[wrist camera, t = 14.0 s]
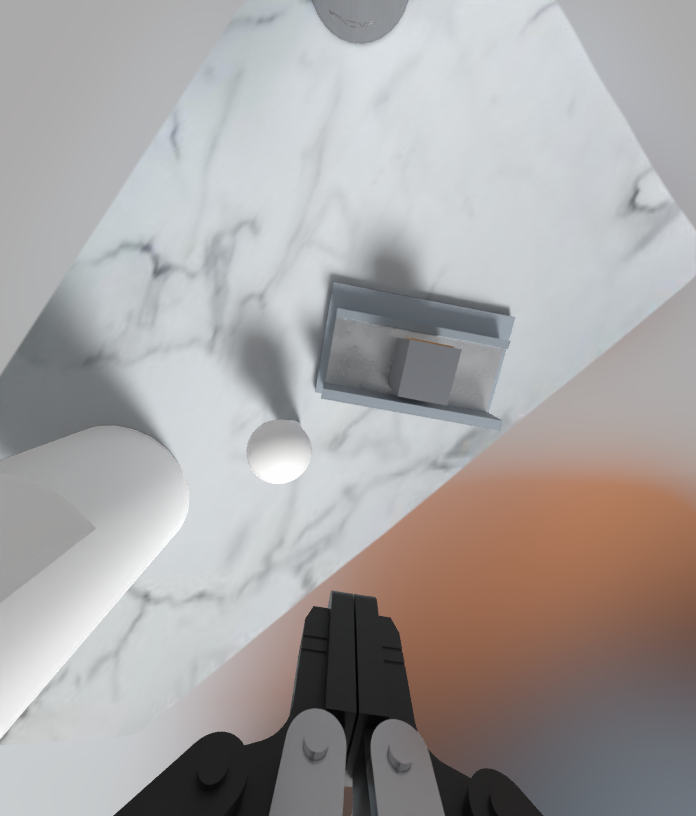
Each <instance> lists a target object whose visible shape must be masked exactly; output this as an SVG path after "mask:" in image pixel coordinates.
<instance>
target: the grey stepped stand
mask: <svg viewBox="0 0 696 816" xmlns="http://www.w3.org/2000/svg"><path fill="white" fill-rule="evenodd" d="M336 317H341V318H346V319H351V320H357V321H362V322H367V323H373V324H378V325H383V326H388V327H394V328H399V329H404V330H410V331H415V332H420V333H425V334H431V335H436V336H441V337H447V338H452V339H457V340H462V341H468V342H473V343H478V344H484V345H489V346H494V347H499V348H504V349H503V352H502V356H501V360H500V363H499V367H498V370H497V374H496V378H495V381H494V385H493V388H492V392H491V395H490V399H489V403H488V406H487V410H486V411H480V410H474V409H469V408H463V407H458V406H452V405H447V406H446V405H441V404H436V403H430V402H425V401H419V400H414V399H409V398H403V397H398V396H397V395H391V394H386V393H380V392H375V391H369V390H364V389H358V388H353V387H347V386H341V385H336V384H330V383H325V381H326V375H327V369H328V363H329V357H330V352H331V346H332V340H333V334H334V328H335V322H336ZM514 320H515V317H512V316H507V315H501V314H496V313H491V312H486V311H481V310H476V309H471V308H465V307H460V306H455V305H450V304H445V303H440V302H434V301H429V300H424V299H419V298H414V297H409V296H403V295H398V294H393V293H388V292H383V291H378V290H372V289H367V288H362V287H357V286H352V285H347V284H341V283H336V282H333V286H332V292H331V299H330V305H329V311H328V317H327V323H326V329H325V335H324V341H323V347H322V354H321V360H320V366H319V372H318V378H317V384H316V390H315V392H318V393H322V395H321V399H327V400H332V401H338V402H343V403H349V404H355V405H360V406H366V407H372V408H377V409H383V410H388V411H394V412H400V413H405V414H411V415H416V416H422V417H428V418H433V419H439V420H444V421H450V422H456V423H461V424H467V425H473V426H478V427H484V428H489V429H495V430H500V428H501V424H502V420H500V419H498V418H497V417H495V416H493V415H491V414H489V413H488V412H489V409H490V405H491V401H492V398H493V394H494V391H495V387H496V384H497V380H498V377H499V373H500V369H501V366H502V362H503V359H504V355H505V352H506V349H508V347H509V344H510V341H509V337H510V334H511V330H512V327H513V323H514Z"/></svg>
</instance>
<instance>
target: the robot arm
mask: <svg viewBox="0 0 696 816" xmlns="http://www.w3.org/2000/svg"><path fill="white" fill-rule="evenodd" d="M407 2H408V0H313V3H314V6H315V8H316V11H317V13H318V15H319V17H320V19H321V20H322V22H323V23H324V25H325V26H326V27H327V28H328V29H329V30H330V31H331V32H332V33H333V34H335V35H336V36H338V37H339V38H341V39H343V40H345V41H348V42H351V43H360V44H363V43H369V42H373V41H375V40H378V39H380V38H382V37H383V36H385V35H386V34H387V33H389V32H390V31H391V30H392V29H393V28H394V27H395V25H396V24H397V23H398V22H399V20H400V18H401V16H402V15H403V13H404V11H405V8H406V5H407ZM344 786H348V787H353V812H352V816H543V815H542V814H541V813H540V811H539V810H538V809H537V808H536V807H535V806H534V805H533V804H532V802H531V801H530V800H529V799H528V798H527V797H526V796H525V795H524V793H523V792H522V791H521V790H520V789H519V788H518V787H517V785H515V783H514V782H513V781H511V780H510V779H509V778H508V777H506V776H505V775H503V774H502V773H500V772H498V771H496V770H493V769H486V768H485V769H480V770H479V771H477V772H476V773H475V774H474V775H473V776H472V778H469V777H468V776H466V775H464V774H462V773H460V772H458V771H457V770H455V769H453V768H451V767H449V766H447V765H446V764H444V763H443V762H441V761H439V760H438V759H437V758H436V757H435V756H434V755H433V754H432V753H431V752H430V751H429V750H428V748H427V746H426V744H425V742H424V740H423V739H422V737H421V736H420V735H419V733H418V731H417V728H416V724H415V721H414V715H413V709H412V703H411V697H410V692H409V686H408V680H407V675H406V669H405V666H404V659H403V653H402V646H401V640H400V635H399V632H398V630H397V628H396V626H395V625H394V623H393V621H392V620H391V618H390V617H383V616H378V607H377V599H376V597H371V596H364V595H358V594H354V596H353V594H350V593H344V592H337V591H331V594H330V600H329V604H328V608H322V607H316V606H313V608H312V609H311V611H310V612H309V614H308V616H307V617H306V619H305V624H304V629H303V634H302V640H301V645H300V651H299V656H298V662H297V669H296V676H295V682H294V689H293V696H292V702H291V709H290V716H289V718H288V720H287V722H286V723H285V724H284V726H283V727H282V728H281V729H280V730H279V731H278V732H277V733H276V734H274V735H273V736H271V737H269V738H267V739H265V740H262V741H259V742H255V743H251V744H248V745H243V743H242V741H241V740H240V739H239V738H238V737H236V736H235V735H233V734H231V733H227V732H215V733H211V734H208V735H206V736H204V737H203V738H201V739H200V740H198V741H197V742H196V743H195V744H193V745H192V746H191V747H190V748H189V749H188V750H187V751H186V752H184V753H183V754H182V755H181V756H180V757H179V758H178V759H177V760H176V761H174V762H173V763H172V764H171V765H170V766H169V767H168V768H166V770H164V771H163V772H162V773H161V774H160V775H159V776H158V777H156V778H155V779H154V780H153V781H152V782H151V783H150V784H149V785H147V786H146V787H145V788H144V789H143V790H142V791H141V792H140V793H138V794H137V795H136V796H135V797H134V798H133V799H132V800H131V801H129V802H128V803H127V804H126V805H125V806H124V807H123V808H122V809H120V810H119V811H118V812H117V813H116V814H115V815H114V816H342V812H343V795H344Z"/></svg>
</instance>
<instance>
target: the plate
mask: <svg viewBox="0 0 696 816" xmlns="http://www.w3.org/2000/svg"><path fill="white" fill-rule="evenodd" d="M398 338H400V339H406V338H413V339H418V340H424V341H429V342H434V343H439V344H444V345H449V346H454V348H457V349H462V351H461V354H460V358H459V362H458V366H457V370H456V374H455V378H454V381H453V385H452V389H451V393H450V397H449V401H448V404H447V405H452V406H458V407H463V408H469V409H474V410H480V411H486V410H487V406H488V403H489V399H490V395H491V392H492V388H493V385H494V381H495V378H496V374H497V370H498V367H499V363H500V360H501V356H502V352H503V349H504V348H499V347H494V346H489V345H484V344H478V343H473V342H468V341H462V340H457V339H452V338H447V337H441V336H436V335H431V334H425V333H420V332H415V331H410V330H404V329H399V328H394V327H388V326H383V325H378V324H373V323H367V322H362V321H357V320H351V319H346V318H341V317H336V322H335V328H334V334H333V340H332V346H331V352H330V357H329V363H328V369H327V375H326V381H325V383H330V384H336V385H341V386H347V387H353V388H358V389H364V390H369V391H375V392H380V393H386V394H391V395H396V394H395V393H394V391H393V390H392V389H391V388H390V387H389V385H388V382H389V377H390V373H391V368H392V364H393V359H394V354H395V350H396V345H397V341H398Z"/></svg>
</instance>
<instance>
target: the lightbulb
mask: <svg viewBox="0 0 696 816" xmlns="http://www.w3.org/2000/svg"><path fill="white" fill-rule="evenodd" d="M246 452H247V460H248V464H249V466H250V468H251V470H252V471H253V472H254V474H256V475H257V476H258V477H259V478H261V479H262V480H264V481H266V482H269V483H274V484H282V483H287V482H290V481H292V480H294V479H296V478H298V477H299V476H300V475H301V474H302V473H303V472H304V471H305V470H306V468H307V467H308V465H309V462H310V459H311V454H312V447H311V443H310V440H309V438H308V435H307V434H306V432H305V431H304V430H303V429H302V427H301V425H300V424H299V423H298V422H297V421H295V420H281V419H278V420H272V421H268V422H266V423H264V424H262V425H260V426H259V427H258V428H257V429H256V430H255V431H254V432H253V434H252V435H251V437H250V439H249V441H248V444H247V450H246Z"/></svg>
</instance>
